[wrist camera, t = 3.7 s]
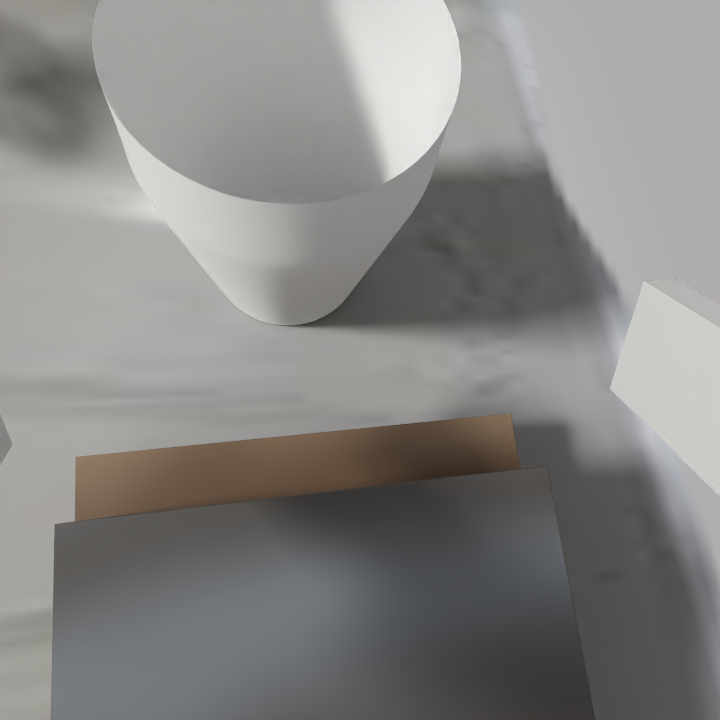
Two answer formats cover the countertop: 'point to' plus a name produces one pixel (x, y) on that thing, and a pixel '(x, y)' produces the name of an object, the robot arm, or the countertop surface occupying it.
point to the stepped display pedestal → (317, 582)
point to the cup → (280, 132)
